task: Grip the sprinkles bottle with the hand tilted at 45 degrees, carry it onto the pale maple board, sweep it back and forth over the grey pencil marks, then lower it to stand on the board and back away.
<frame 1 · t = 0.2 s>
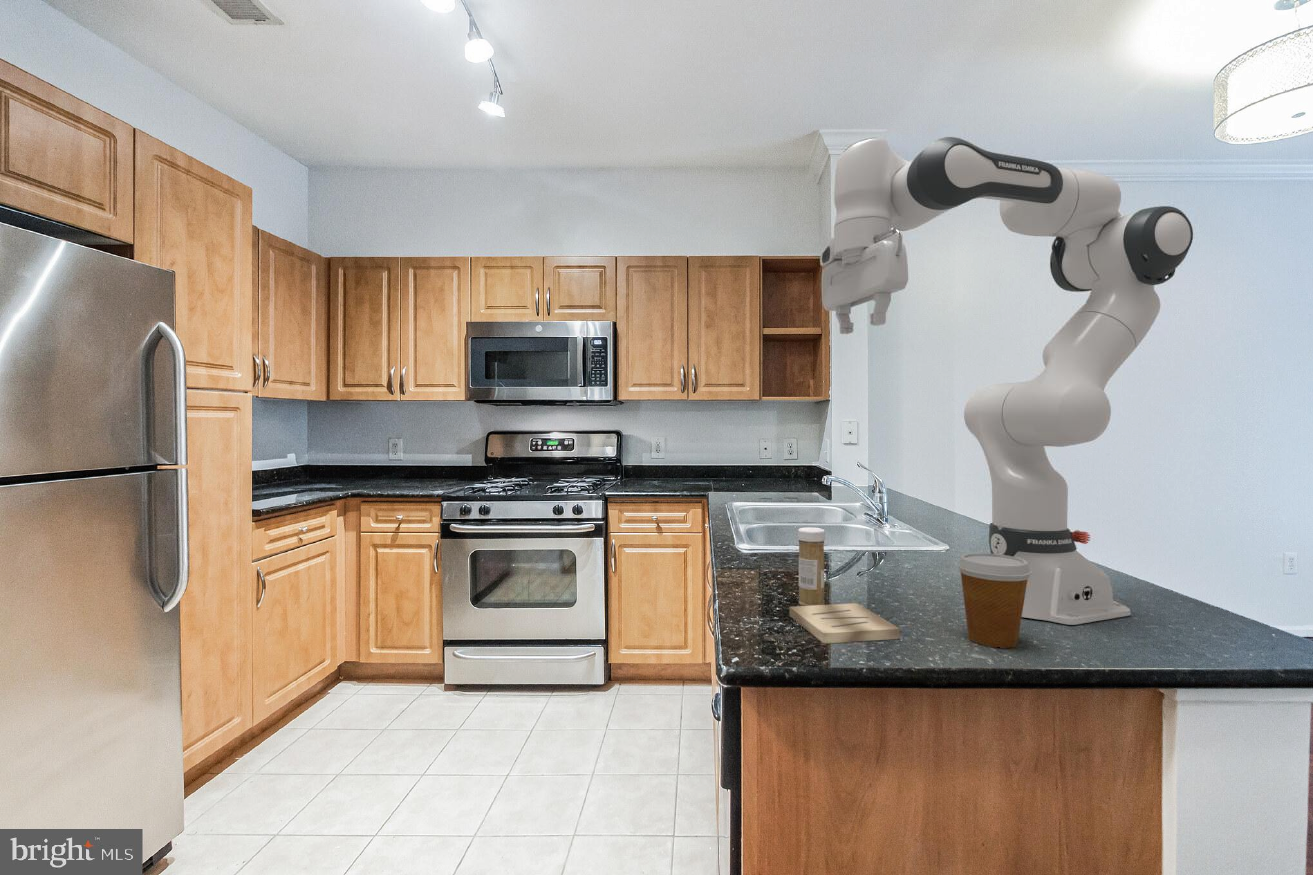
hand: (861, 329, 100), 47 cm above the countertop, tool pointing down, fingers open, 8 cm apart
sprinkles bottle: (811, 606, 108), on the countertop
maple board: (841, 626, 96), on the countertop
disposable coffee cup: (992, 641, 90), on the countertop
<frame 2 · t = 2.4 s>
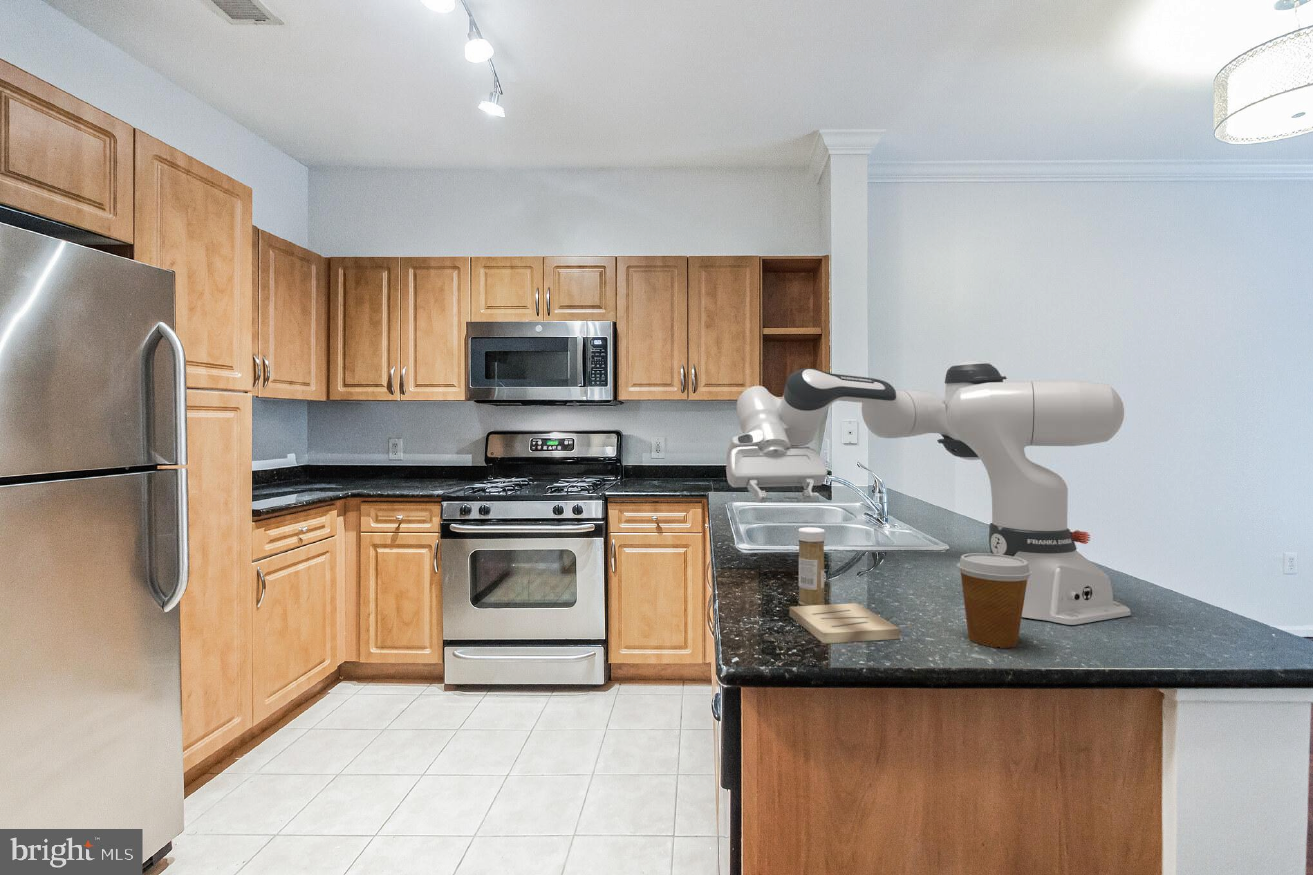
hand: (785, 500, 119), 17 cm above the countertop, tool tilted 45°, fingers open, 8 cm apart
nothing on the countertop moved.
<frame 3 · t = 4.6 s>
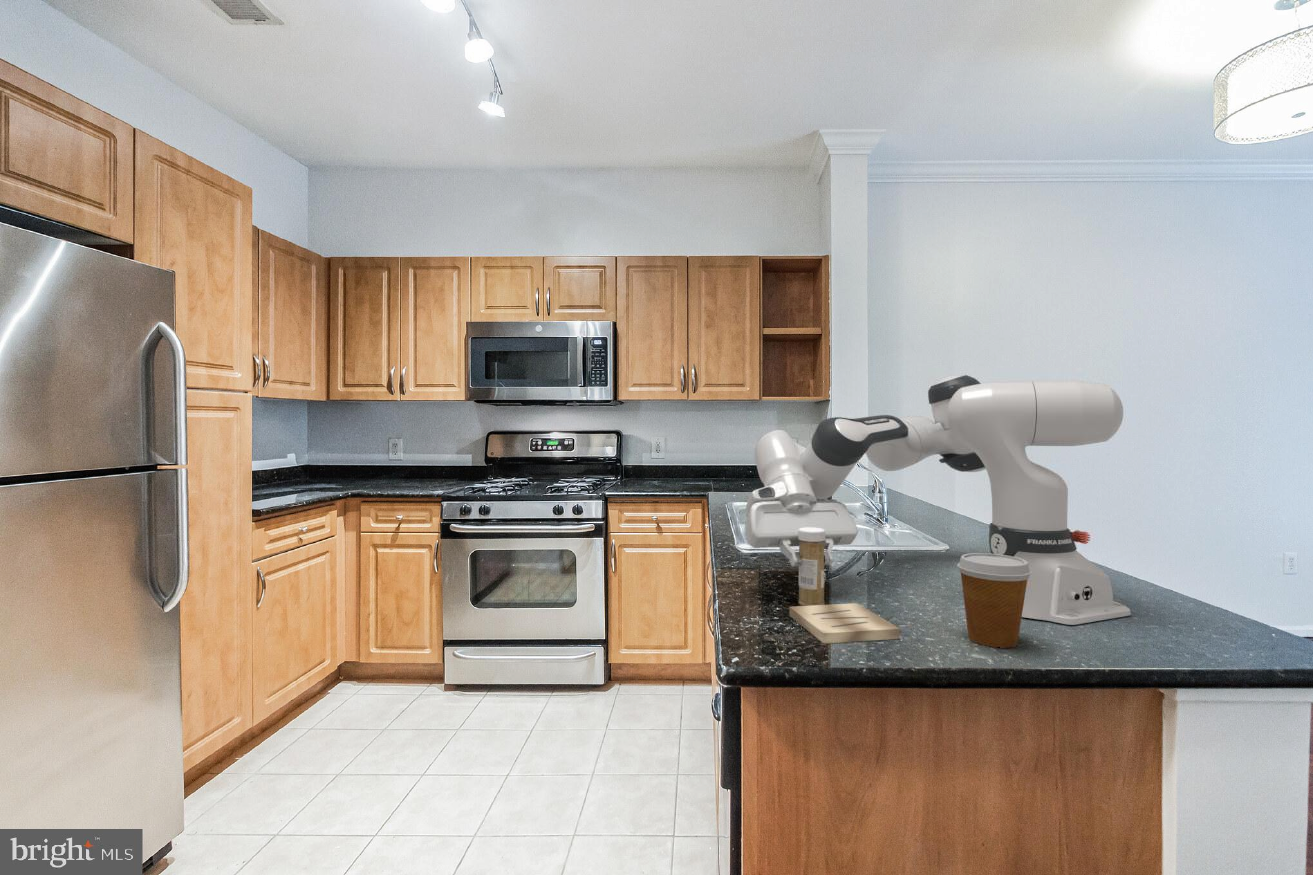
hand: (812, 563, 107), 7 cm above the countertop, tool tilted 45°, fingers closed on sprinkles bottle, 4 cm apart
sprinkles bottle: (811, 606, 108), on the countertop, touching gripper
everything else where it was.
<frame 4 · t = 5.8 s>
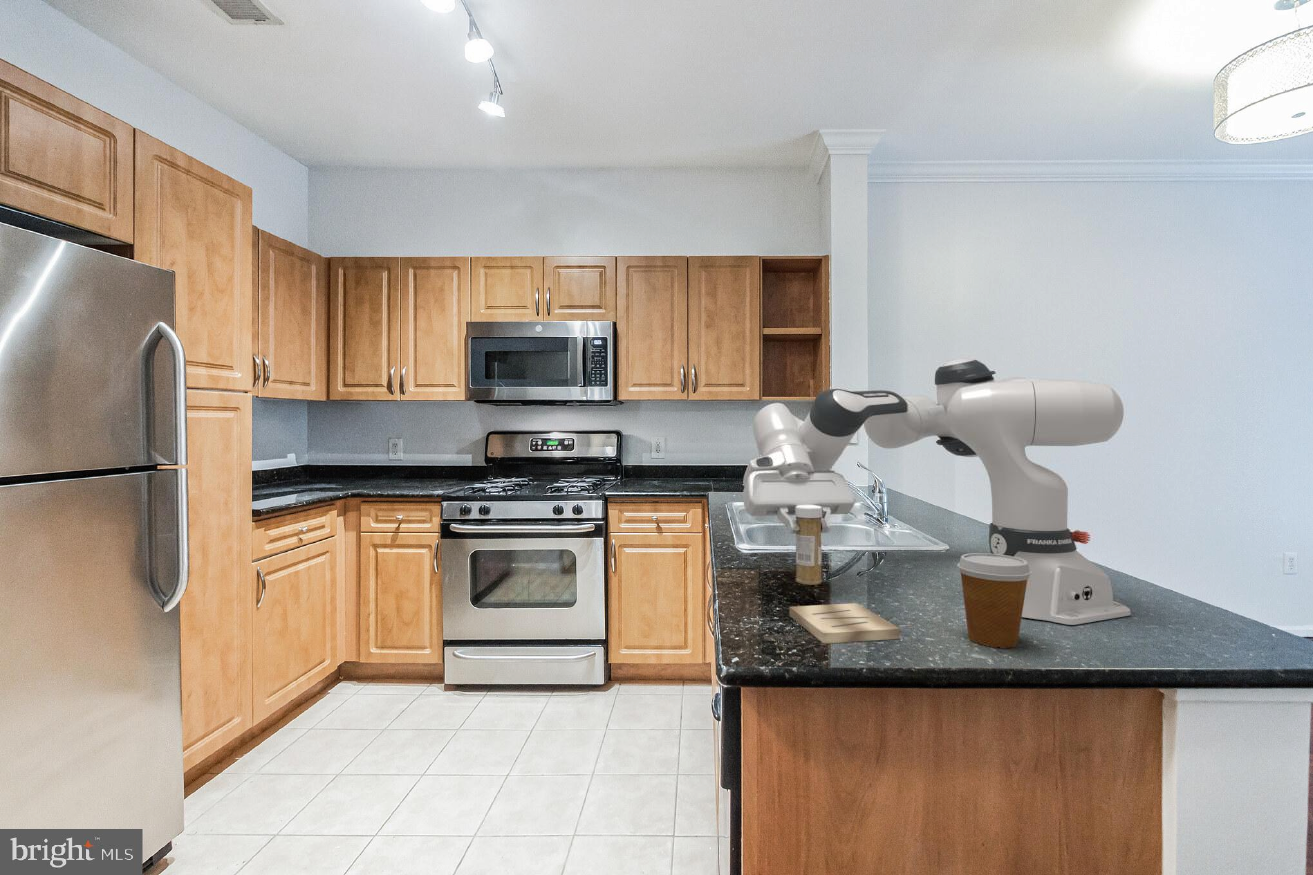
hand: (810, 531, 107), 13 cm above the countertop, tool tilted 45°, fingers closed on sprinkles bottle, 4 cm apart
sprinkles bottle: (808, 583, 108), point 4 cm above the countertop, touching gripper
everything else where it was.
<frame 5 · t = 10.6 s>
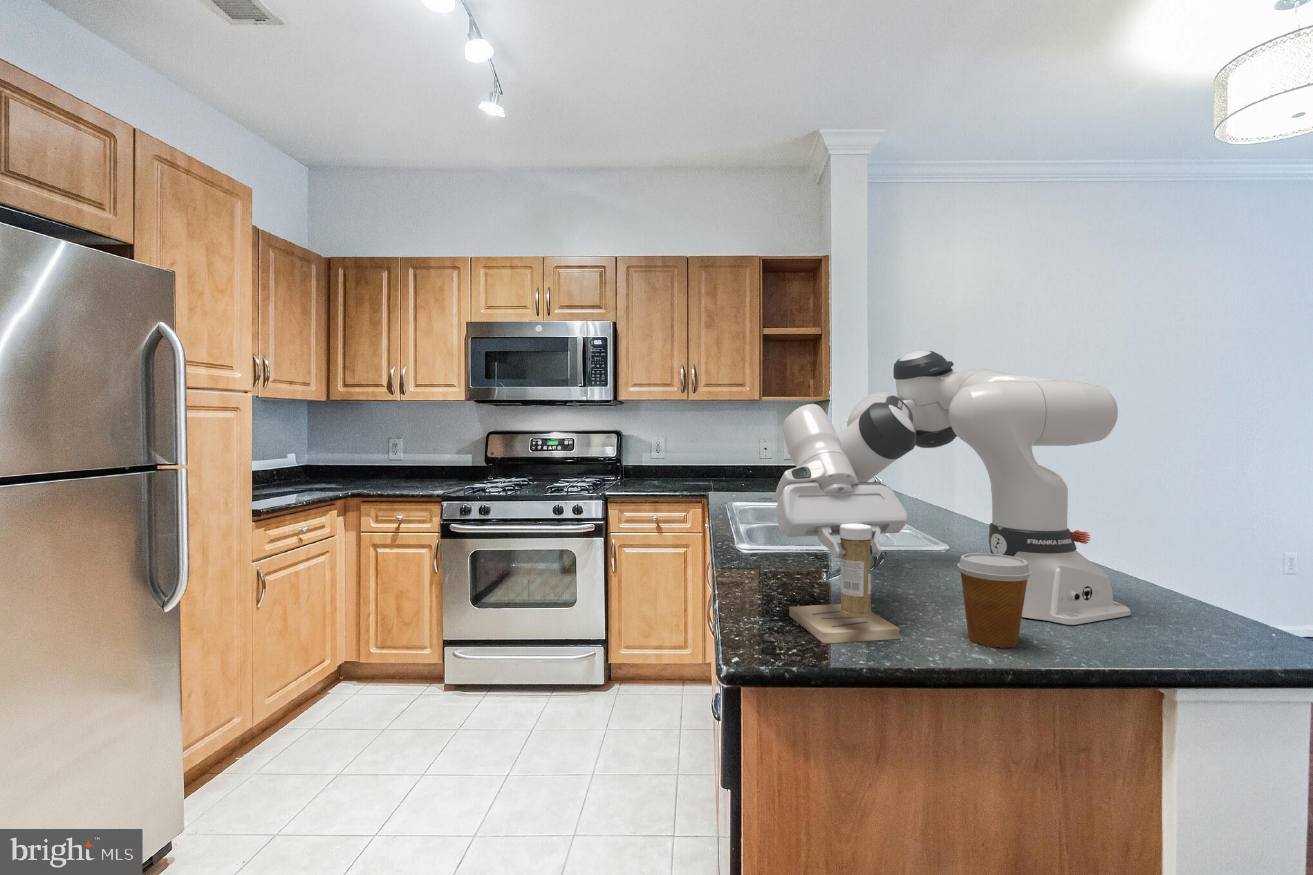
hand: (857, 555, 91), 12 cm above the countertop, tool tilted 45°, fingers closed on sprinkles bottle, 4 cm apart
sprinkles bottle: (855, 615, 92), point 3 cm above the countertop, touching gripper
everything else where it was.
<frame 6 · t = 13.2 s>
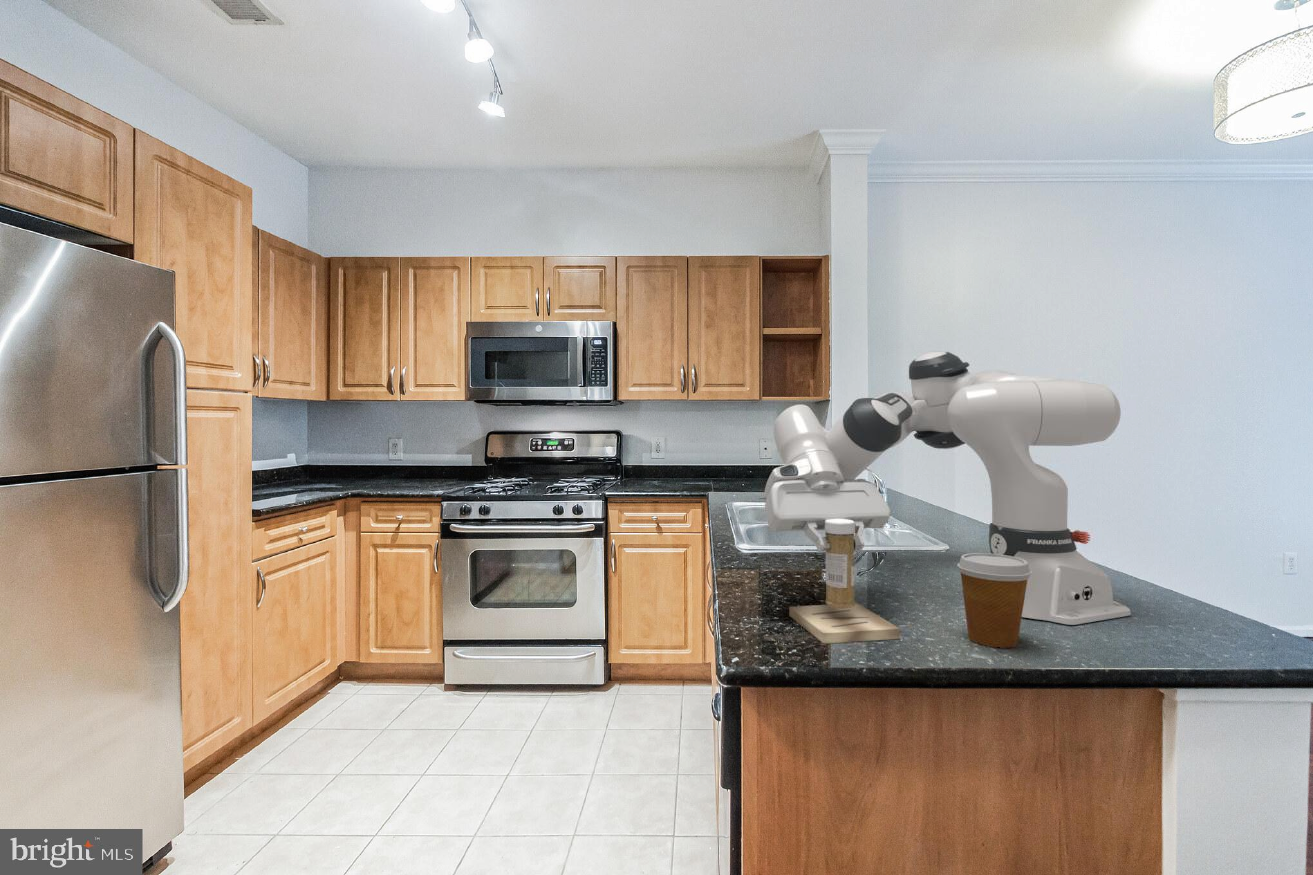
hand: (841, 548, 96), 12 cm above the countertop, tool tilted 45°, fingers closed on sprinkles bottle, 4 cm apart
sprinkles bottle: (839, 606, 97), point 3 cm above the countertop, touching gripper
everything else where it was.
when the fingers open (9 cm above the countertop, at t = 15.2 s): sprinkles bottle stays where it is, resting on maple board.
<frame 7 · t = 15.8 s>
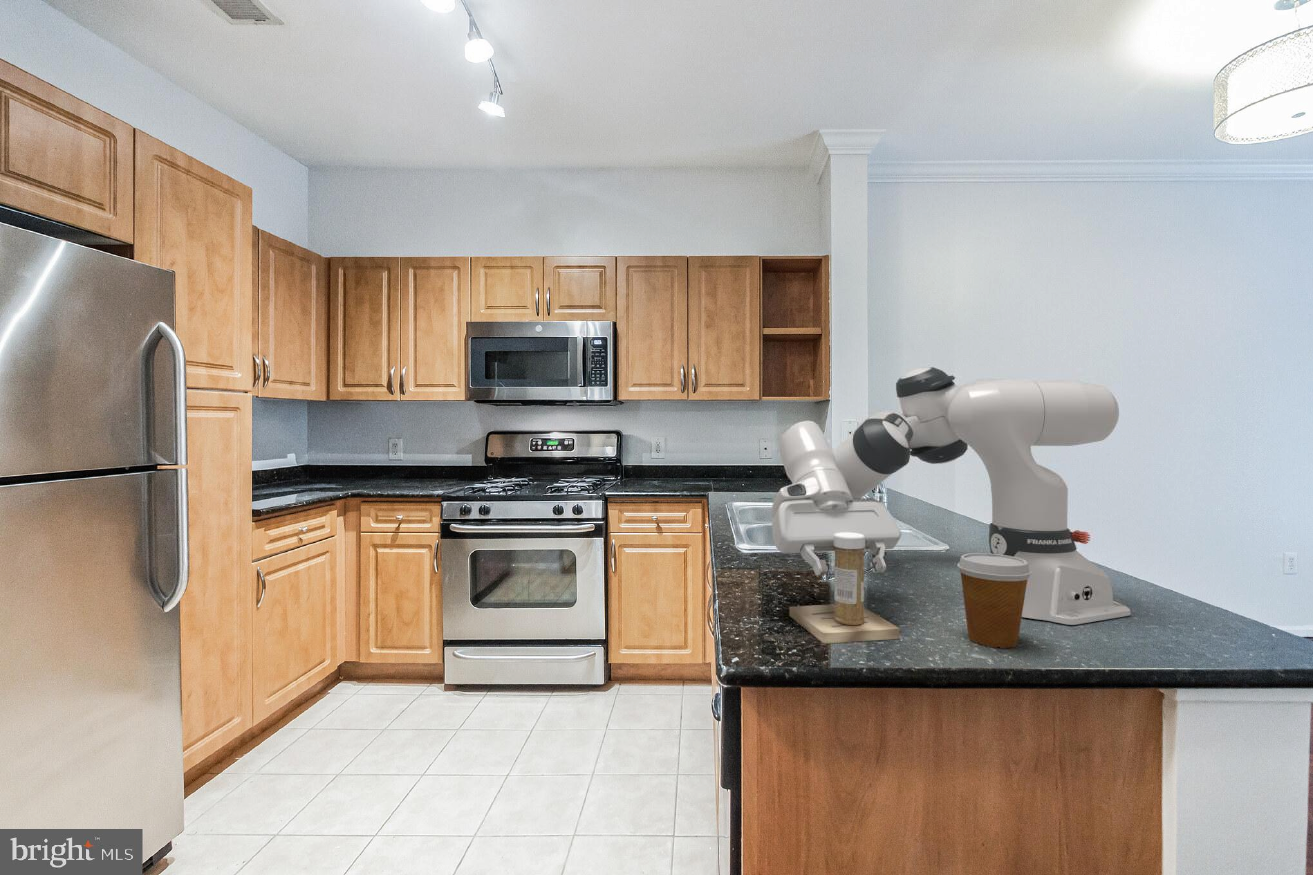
hand: (851, 571, 93), 9 cm above the countertop, tool tilted 45°, fingers open, 8 cm apart
sprinkles bottle: (848, 622, 94), point 1 cm above the countertop, touching maple board
everything else where it was.
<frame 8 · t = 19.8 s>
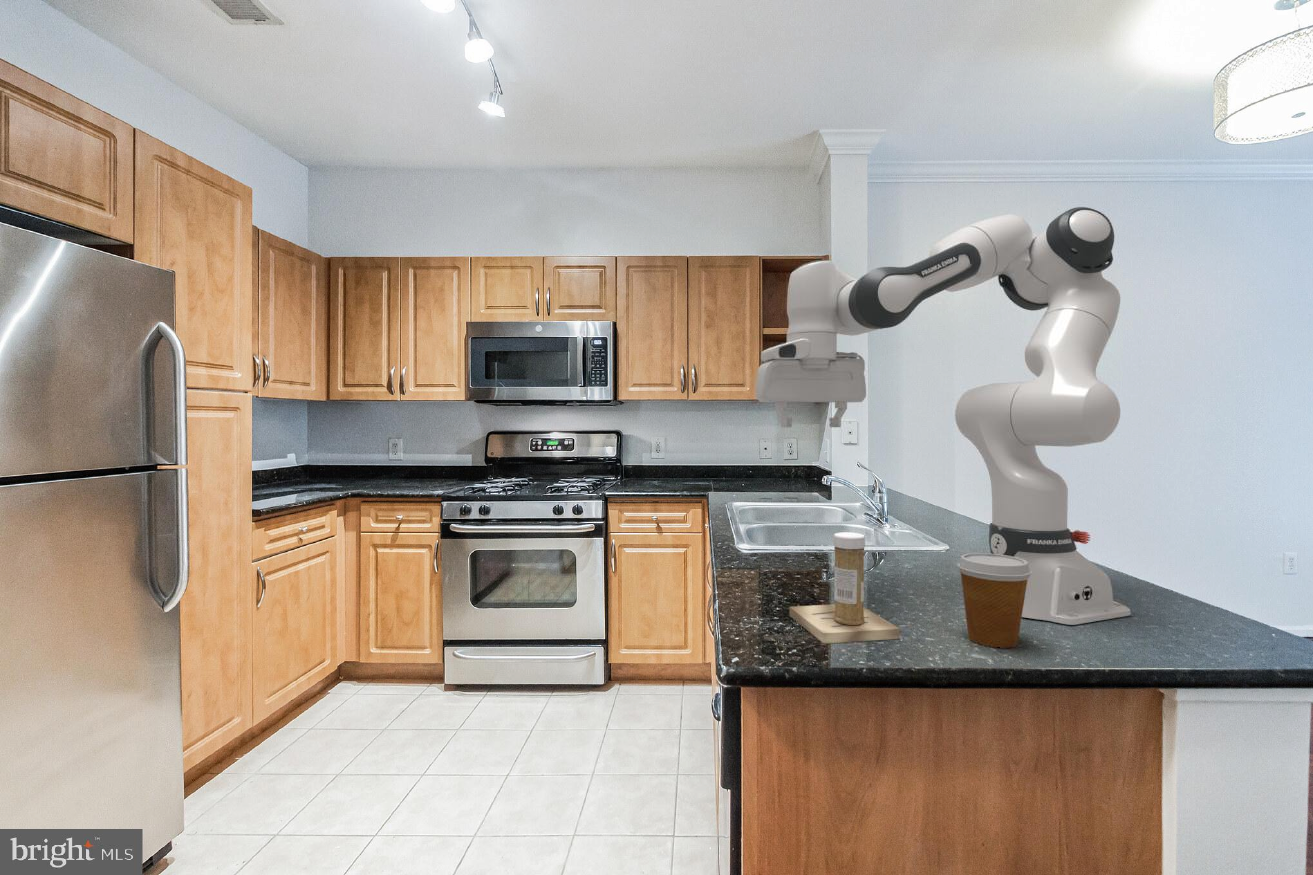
hand: (810, 427, 112), 31 cm above the countertop, tool pointing down, fingers open, 8 cm apart
nothing on the countertop moved.
at the end: sprinkles bottle inside the target area (0.2 cm from its centre), point 1.3 cm above the countertop; sprinkles bottle tilted 0°; the gripper is holding nothing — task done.
